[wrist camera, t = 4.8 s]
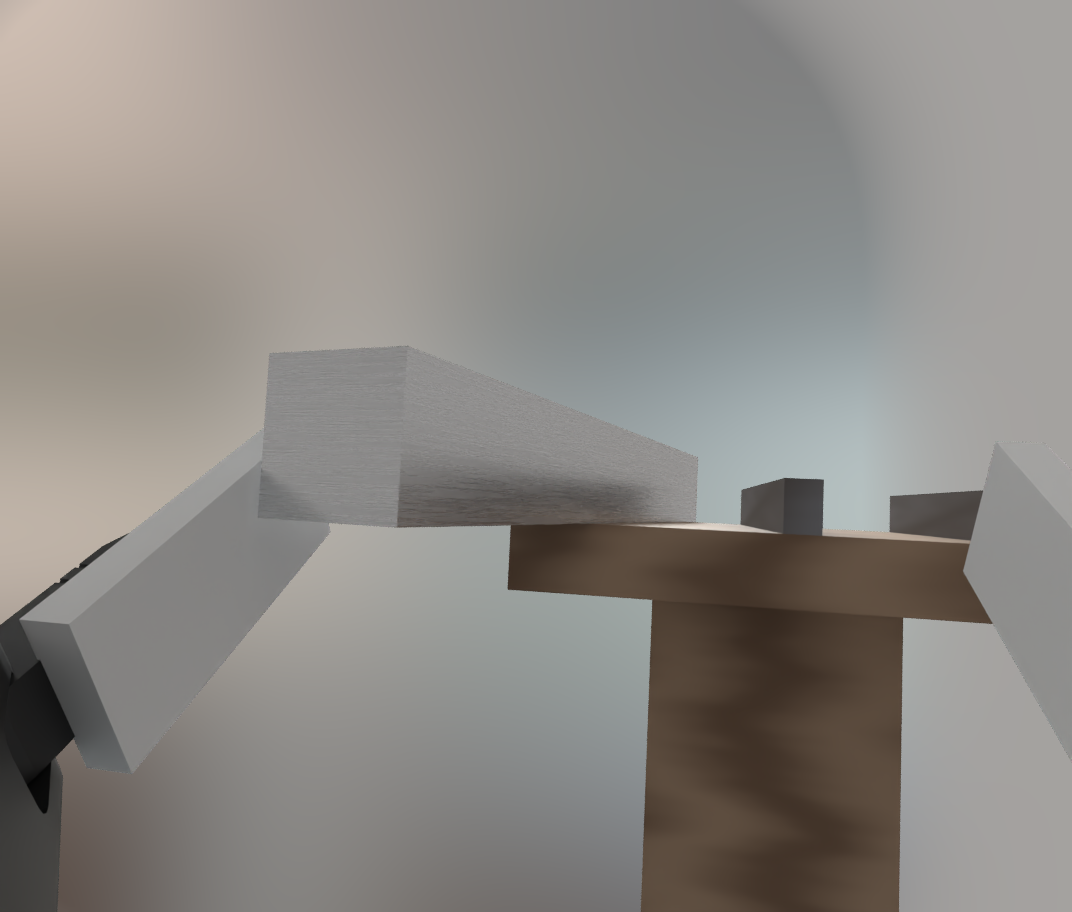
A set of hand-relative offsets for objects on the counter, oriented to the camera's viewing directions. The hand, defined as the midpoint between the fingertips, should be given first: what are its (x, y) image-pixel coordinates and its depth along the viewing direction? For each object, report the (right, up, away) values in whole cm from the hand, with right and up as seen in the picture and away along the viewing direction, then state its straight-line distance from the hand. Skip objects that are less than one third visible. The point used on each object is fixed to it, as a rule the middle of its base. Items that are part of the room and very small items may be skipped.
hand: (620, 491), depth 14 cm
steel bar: (0, -1, +9) cm, 9 cm away
